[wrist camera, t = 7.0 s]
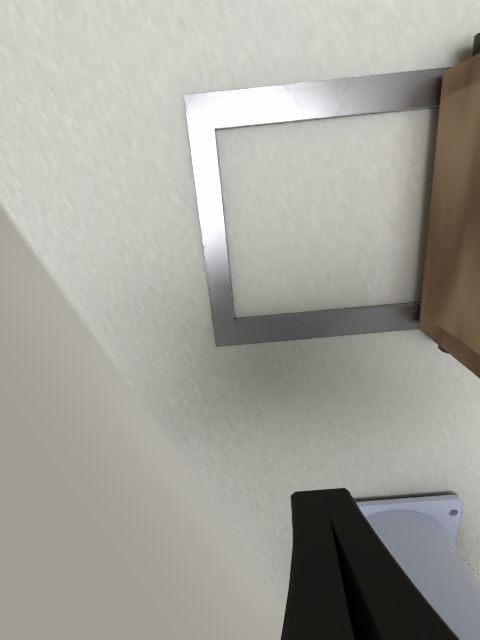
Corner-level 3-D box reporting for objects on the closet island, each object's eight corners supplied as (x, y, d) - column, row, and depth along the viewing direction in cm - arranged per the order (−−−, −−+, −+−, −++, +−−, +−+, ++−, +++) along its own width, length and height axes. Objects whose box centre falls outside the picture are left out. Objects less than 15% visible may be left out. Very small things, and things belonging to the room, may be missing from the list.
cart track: (679, 302, 17) (689, 305, 17) (216, 343, 18) (216, 346, 17) (778, 35, 13) (793, 31, 13) (185, 97, 14) (183, 95, 13)
